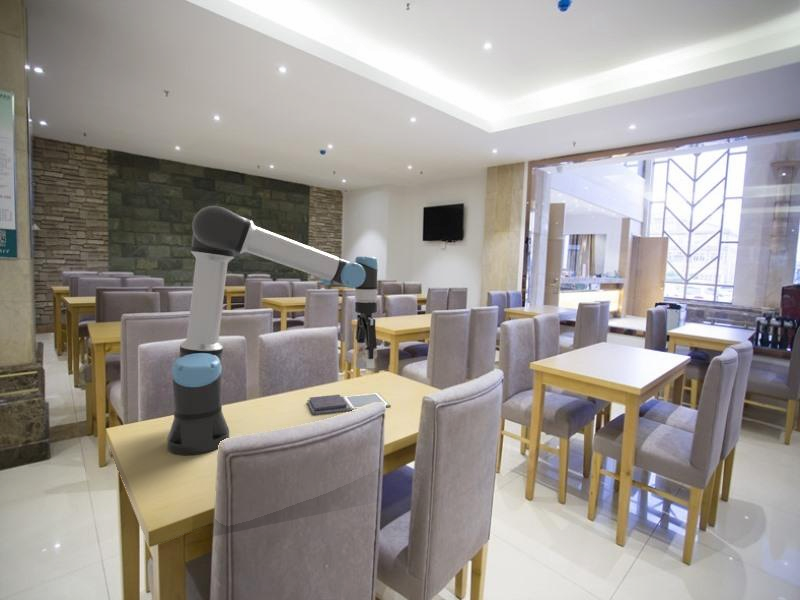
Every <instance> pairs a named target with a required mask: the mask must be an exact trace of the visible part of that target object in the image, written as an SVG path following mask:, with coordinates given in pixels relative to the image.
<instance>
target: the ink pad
mask: <svg viewBox="0 0 800 600" xmlns="http://www.w3.org/2000/svg"><path fill="white" fill-rule="evenodd" d="M306 401H307V402H306V403H307V405H308V407H309V409H310V411H311V414H312V415H323V414H324V415H325V414H332V413H341V412H349V411H350V409H349V407H348V406H347V404H346V403H345V401H344V400H343V399H342V397H341V395H340V394H333V395H331V394H330V395H323V396H313V397H309V399H306Z"/></svg>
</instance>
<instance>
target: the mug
mask: <svg viewBox="0 0 800 600" xmlns="http://www.w3.org/2000/svg"><path fill="white" fill-rule="evenodd" d="M365 348H367V344H365V345H364V346H362V347H361V348H360V349H359V350H358V349H357V354H356V357H357V358H356V360H355V366H356V367H357V368H358V369H360V370H363V369H366V350H365ZM378 356H379V355H378V350H377V348H376V349H374V368H367V369H368V370H369V371H373V370H375V369H376V366H377V365H376V362H377V359H378Z"/></svg>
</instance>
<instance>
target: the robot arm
mask: <svg viewBox="0 0 800 600" xmlns="http://www.w3.org/2000/svg"><path fill="white" fill-rule="evenodd" d="M191 224H192V225H191V227H192V228H191V229H192V232H193V233H192V238H191V248H190V249H191V250H190V252H191V254H192V255H193V256H194V258H195V264H194V274H193V281H192V291H191V292H192V293H191V300H190V309H189V317H188V324H187V325H188V326H187V335H186V339H185V340H184V341H183V342H181V343H180V346H179V353H178V358H177V359H176V360H174V362H173V364H172V370H171V377H172V390H173V393H172V395H173V421H172V424H171V426H170V430H169V432H168V437H167V443H166V445H167V450H168V452H170V453H172V454H175V455H182V456H183V455H185V456H187V455H188V456H189V455H190V456H191V455H200V454H203V453H204V454H205V453H208V452H211V451H215V450H216V449H217V450H218V449H219V448H218V445H219V443H220V441H222V440H224V439H226V438H229V439H230V429H229V426H228V424H227V421H226V418H225V416H224V413H223V410H222V409H223V407H222V406H223V405H222V403H223V401H222V371H223V370H222V369H223V367H222V359H223V351H224V346H223V345H222V344H221V342H220V341H219V338H220V331H221V321H222V315H223V307H224V306H223V305H224V297H225V288H226V281H227V271H228V264H229V262H230V261H232V260H233V259H234V258H235V253H238V254H240V255H241V254H243V253H249V254H251V255H255V256H256V257H261V258H263V259H265V260H268V261H269V260H270V261H271V262H274V263H277V264H281V265H283V266H287V267H289V268H292V269H295V270H298V271H301V272H304V273H307V274H310V275H312V276H314V277H319V278H320V282H321V283H322V284H323V285H330V286H332V285H338V286H343V287H347V288H349V289H354V299H355V303H354V304H355V305H354V308H355V309H354V311H355V313H357V316H356V317H357V318H356V319H357V322H356V331H355V340H356V343H357V351H358V350H359V349H360V348H361V347H362V346H364V345H367V348H365V350H366V367H365V369H368V368H374V349H376V350H377V346H378V345H377V344H378V343H377V332H376V331H377V330H376V318H373V314H376V313H377V311H378V303H377V300H378V299H377V298H378V294H379V291H378V259H377V258H376V257H375V256H356V257H355V260H354V261H349V260H346V259H344V258H341V257H338V256H336V255H334V254H330V253H329V252H325V251H322V250H319V249H317V248H315V247H312V246H309V245H306V244H304V243H301V242H298V241H296V240H293V239H291V238H288V237H286V236H284V235H280V234H277V233H275V232H272V231H269V230H268V229H265V228H262V227H259V226H256V225H255V223H254V221H253V220H251V219H249V218H246V217H244V216H242V215H239V214H237V213H235V212H233V211H231V210H229V209H227V208H225V207H222V206H219V205H209V206H205V207H203V208H201V209H200V210H199V211H197V212H196V214H195V215H194V217H193V220H192V223H191Z"/></svg>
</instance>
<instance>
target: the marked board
mask: <svg viewBox="0 0 800 600" xmlns="http://www.w3.org/2000/svg"><path fill="white" fill-rule="evenodd" d="M340 396H341V395H340ZM341 397H342V399H343V400H344V401H345V403H346V404H347V406H348V407H349V411H351V410H354V409H357V408H359V407H362V406H364V405H367V404H370V403H373V402H383V403H384V404H385V405H386V407H385V408H391V404H390V403H389V402H388V401H387V400H386V399H385V398H384V397H383V396H382V395H381V394H380V393H379V392H371V393H362V394H353V395H351V394H350V395H344V396H343V395H342V396H341Z"/></svg>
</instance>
